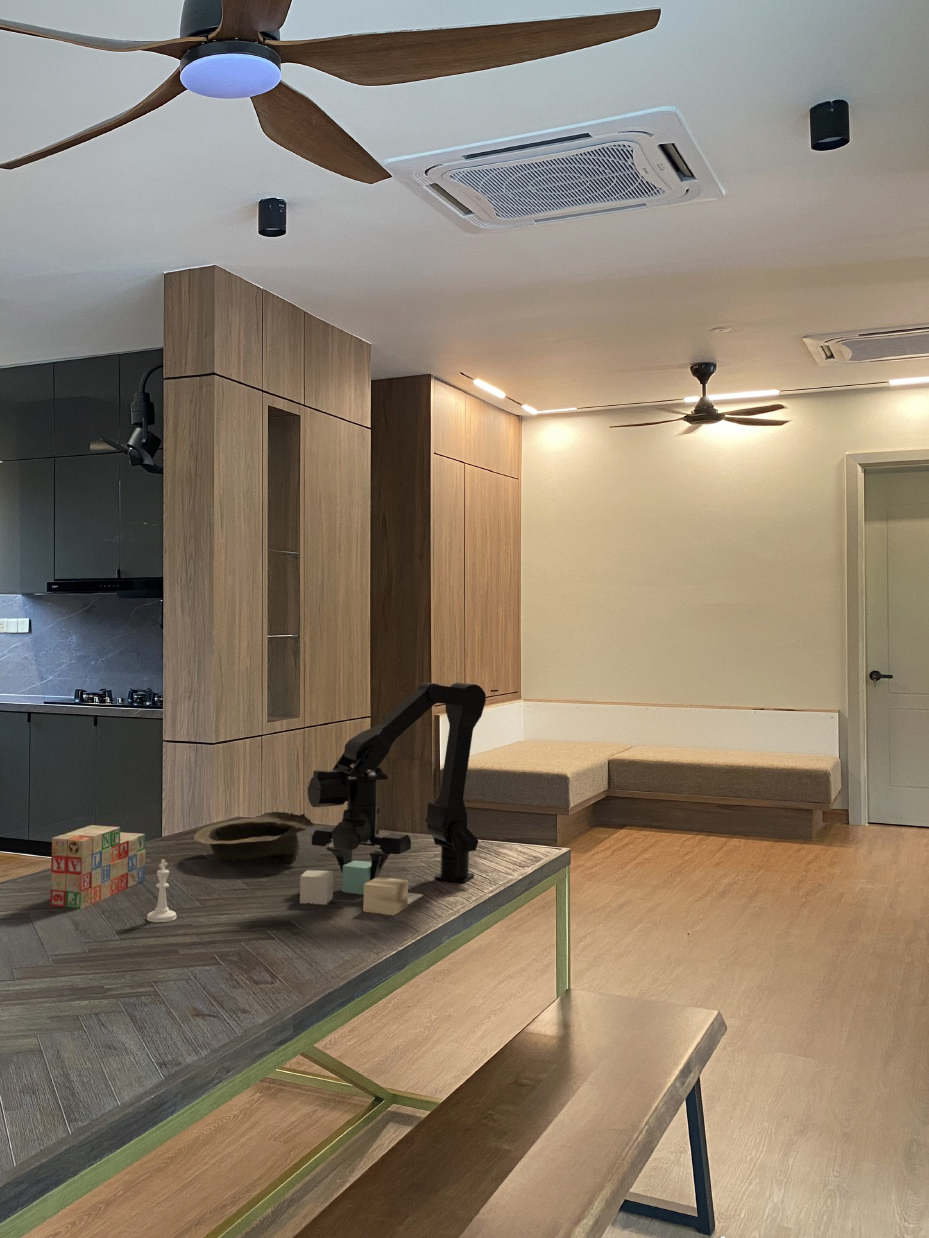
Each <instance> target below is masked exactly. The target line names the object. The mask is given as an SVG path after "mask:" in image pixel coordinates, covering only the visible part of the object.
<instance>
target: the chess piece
mask: <svg viewBox="0 0 929 1238" xmlns="http://www.w3.org/2000/svg"><path fill="white" fill-rule="evenodd" d="M160 861H161V863H159V864H158V867H159V868H160V870H159V869H158V870H157V871H156V874H157V877H158V880H159V883H157V884H156V885H155V887H156V888H158V889H159V892H158V899H157V905H156V907H155V908H154V910H152V911H151V912H149V913H148V914H147V916H146V921H149V922H152V923H168V922H173V921H175V920H176V919H177V913H176V912H175V910H172V909H170V908H169V907H168V904H167V892H166V888H168V887H170V885H169V883H167V880H168V876H169V874H170V870H168V869H166V866H168V862H166V859H161V860H160Z"/></svg>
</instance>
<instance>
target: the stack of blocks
mask: <svg viewBox="0 0 929 1238" xmlns="http://www.w3.org/2000/svg"><path fill="white" fill-rule="evenodd" d="M146 852H147V851H146V834H145V833H139V832H138V833H137V832H135V833H134V832H121V827H120V826H107V825H106V826H105V825H94V824H92V825H88V826H85V827H82V828H79V829H76V830H72V831H70V832H67V833H64V834H60V835H58V836H54V837H51V855H50V856H51V859H50V860H51V861H50V872H51V873H50V878H51V879H50V883H51V884H50V902H49V903H50V904H49V905H50V906H52V907H59V908H71V909H72V908H73V909H83V908H85V907H87V906H91V905H93V904H96V903H97V902H100V901H102V900H105V899H107V898H109V897H111V896H113V895H115V894H117V893H119V892H122V891H124V890H126V889H128V888H130V887H131V888H132V887H133V886H136V885H138V884H141V883H142V882H145V880H146Z"/></svg>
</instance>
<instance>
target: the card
mask: <svg viewBox="0 0 929 1238" xmlns="http://www.w3.org/2000/svg"><path fill="white" fill-rule="evenodd" d="M423 896H424V894H421V893H413V892H412V893H411V892H408V903H407V905H410V904H412V903H413V902H415V901H417V900H418V899H420V898H422V897H423Z"/></svg>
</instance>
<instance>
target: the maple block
mask: <svg viewBox="0 0 929 1238" xmlns="http://www.w3.org/2000/svg"><path fill="white" fill-rule="evenodd" d="M408 893H409V880H407V879H399V878H394V877H393V878H391V877H383V876H379V877H377V878H375V879H373V880H371V881H369V882H367V883H365V884H364V895H363V908H362V911H363V912H366V913H373V914H380V913H381V915H386V916H387V915H389V916H396V915H398V914H399V913H400V912H401V911H404V910H405V909H406V908H408V904H407V903H408Z"/></svg>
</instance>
